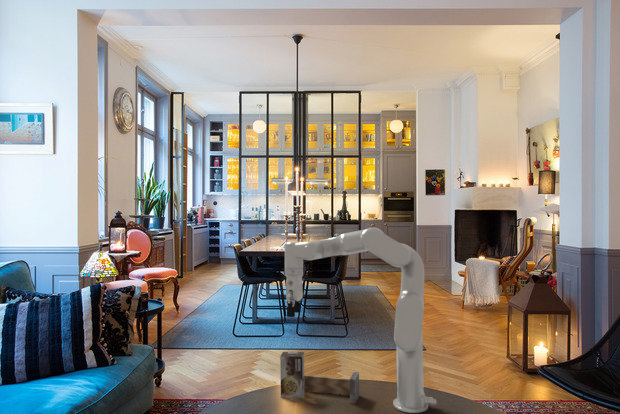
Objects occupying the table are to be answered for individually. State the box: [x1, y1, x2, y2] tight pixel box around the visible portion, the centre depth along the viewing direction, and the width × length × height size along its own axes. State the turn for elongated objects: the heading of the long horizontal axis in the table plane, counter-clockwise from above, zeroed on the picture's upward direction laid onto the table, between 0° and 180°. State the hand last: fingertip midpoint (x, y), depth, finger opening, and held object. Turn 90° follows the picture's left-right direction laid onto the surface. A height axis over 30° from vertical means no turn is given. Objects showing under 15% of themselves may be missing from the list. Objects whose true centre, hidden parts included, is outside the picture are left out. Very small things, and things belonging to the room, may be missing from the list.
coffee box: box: [279, 351, 306, 399], centre depth 166 cm, size 9×6×16 cm
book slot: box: [290, 371, 360, 405], centre depth 163 cm, size 27×13×9 cm, turn 73°
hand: (293, 314), depth 169 cm, fingers open, 9 cm apart
